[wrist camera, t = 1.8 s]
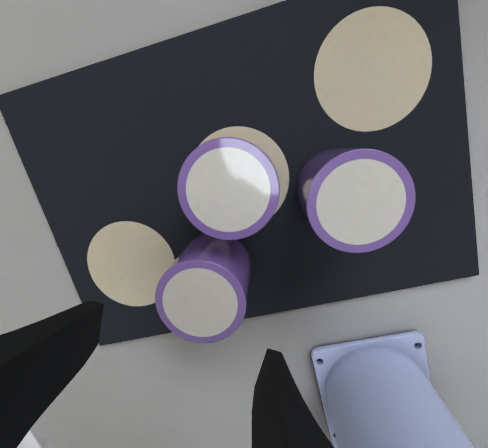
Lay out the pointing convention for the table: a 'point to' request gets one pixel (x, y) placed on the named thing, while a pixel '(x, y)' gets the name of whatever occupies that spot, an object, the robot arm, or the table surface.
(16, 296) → the table surface
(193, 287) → the purple canister
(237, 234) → the purple white-topped cylinder
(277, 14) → the mat
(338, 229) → the purple cylinder white cap
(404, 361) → the robot arm
